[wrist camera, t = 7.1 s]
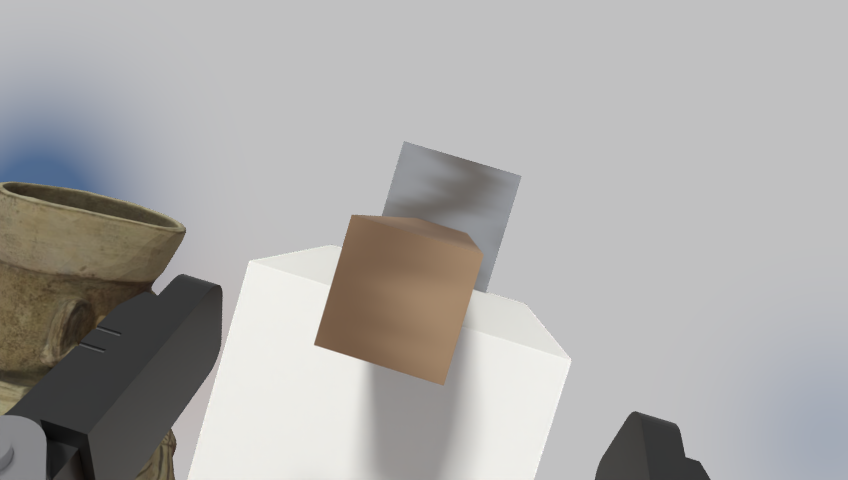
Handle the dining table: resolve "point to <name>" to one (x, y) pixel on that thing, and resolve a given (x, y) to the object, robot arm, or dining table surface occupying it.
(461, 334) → the post
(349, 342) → the wooden handled hammer
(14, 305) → the ceramic vessel
